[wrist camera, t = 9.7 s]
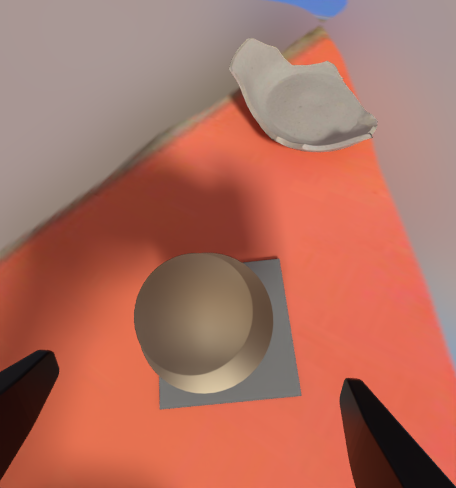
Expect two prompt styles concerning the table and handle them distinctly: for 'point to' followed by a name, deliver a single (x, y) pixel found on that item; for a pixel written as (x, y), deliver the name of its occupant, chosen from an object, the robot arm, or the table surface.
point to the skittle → (203, 321)
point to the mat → (270, 368)
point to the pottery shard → (299, 100)
